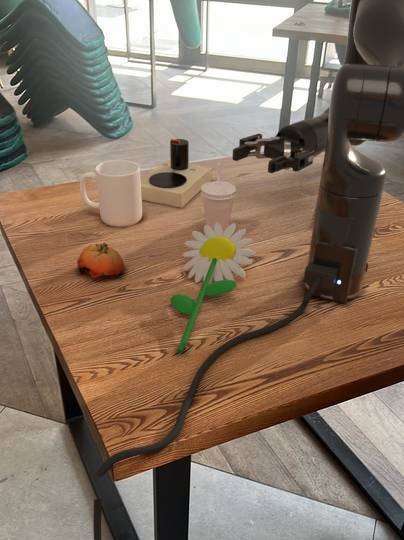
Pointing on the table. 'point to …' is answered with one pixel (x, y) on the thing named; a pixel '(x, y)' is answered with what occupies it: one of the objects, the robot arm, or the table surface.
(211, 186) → the smoothie
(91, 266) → the tomato
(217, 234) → the decorative flower
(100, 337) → the table surface
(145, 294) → the table surface
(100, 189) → the cup
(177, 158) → the stove knob
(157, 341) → the table surface
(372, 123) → the robot arm
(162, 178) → the burner ring
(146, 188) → the hob
